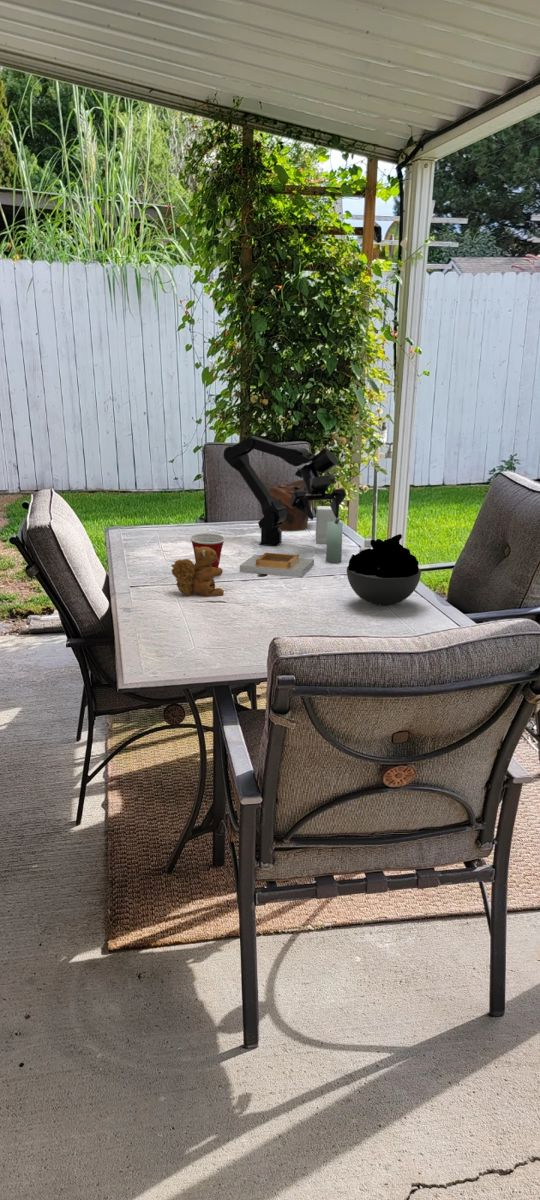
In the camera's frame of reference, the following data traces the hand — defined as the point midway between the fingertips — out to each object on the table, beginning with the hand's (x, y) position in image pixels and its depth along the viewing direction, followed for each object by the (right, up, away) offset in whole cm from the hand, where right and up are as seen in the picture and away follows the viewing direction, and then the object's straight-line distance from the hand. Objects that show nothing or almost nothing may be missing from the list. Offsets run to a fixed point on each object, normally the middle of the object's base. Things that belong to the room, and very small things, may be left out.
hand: (325, 518), depth 288 cm
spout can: (+3, -15, -3) cm, 15 cm away
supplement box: (+2, -6, +26) cm, 27 cm away
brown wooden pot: (-11, +1, +51) cm, 52 cm away
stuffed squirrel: (-39, -25, -42) cm, 62 cm away
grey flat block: (-16, -17, -13) cm, 27 cm away
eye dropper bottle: (+12, -19, -17) cm, 28 cm away
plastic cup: (-37, -20, -22) cm, 48 cm away
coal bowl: (+12, -29, -51) cm, 59 cm away
